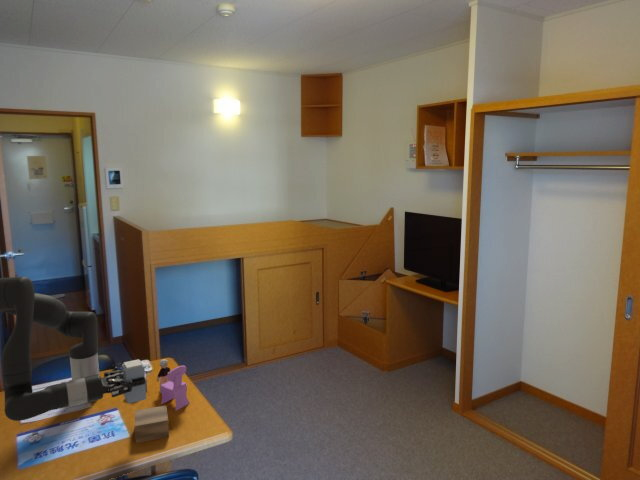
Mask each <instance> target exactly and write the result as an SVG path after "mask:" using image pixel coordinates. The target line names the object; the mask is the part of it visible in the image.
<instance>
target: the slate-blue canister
mask: <svg viewBox="0 0 640 480" xmlns="http://www.w3.org/2000/svg"><path fill="white" fill-rule="evenodd" d="M121 370H122V372H123V379H124V380H132V379H136V378H141V377H144V378H145V379H146V373H145V365H144V364H143V362H142V361H141V360H140V359H139V358H138V359H134V360H133V359H132V360H129V361H124V362H123V363H122V364H121ZM125 384H126V383H125ZM125 390H127V389H125ZM123 396H124V399H125V401H126V403H127V405H129V404H132V403H137V402H140V401H144V400H147V392H146V387H145V384H143V385H139V386H135V387H133V388H132V391H131V392H128V393H125V394H123Z"/></svg>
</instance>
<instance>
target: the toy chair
mask: <svg viewBox="0 0 640 480" xmlns="http://www.w3.org/2000/svg"><path fill="white" fill-rule="evenodd" d="M170 370H171V371H170V372H168V375H167V379H168V380H169V382H167V383H164V384H162V385H161V388H160V387H159V391H160V390H161V392H162V394H161V402H160V404H161V405H163V404H165V403H167V402H169V401H171V400H173V399H174V400H175V409H174V410H175V411H178V410H180V409H182V408H184V407H186V406H187V405H189V404H190V401H189V399H188V397H187V391H188V386H187V382H185V381H183V376H184V374H186V372H187V367H186V365H179V366H177V367H174V368H172V369H170Z"/></svg>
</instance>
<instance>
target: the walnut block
mask: <svg viewBox="0 0 640 480" xmlns="http://www.w3.org/2000/svg"><path fill="white" fill-rule="evenodd" d="M167 407H168V406H167V405H161V406H155V407H148V408H142V409H136V410H134V438H135V443H136V444H138V443H143V442H147V441H154V440H159V439H165V438H170V432H169V431H170V430H169V429H170V428H169V417H168V409H167Z"/></svg>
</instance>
